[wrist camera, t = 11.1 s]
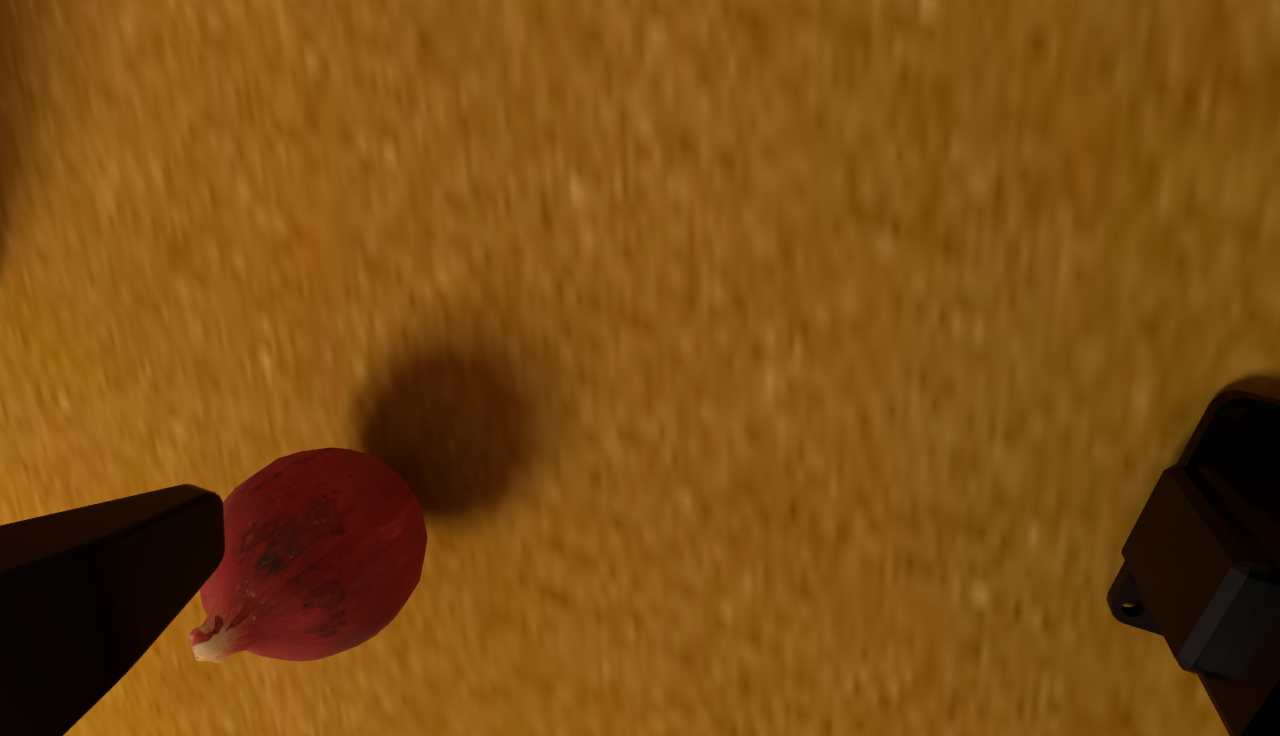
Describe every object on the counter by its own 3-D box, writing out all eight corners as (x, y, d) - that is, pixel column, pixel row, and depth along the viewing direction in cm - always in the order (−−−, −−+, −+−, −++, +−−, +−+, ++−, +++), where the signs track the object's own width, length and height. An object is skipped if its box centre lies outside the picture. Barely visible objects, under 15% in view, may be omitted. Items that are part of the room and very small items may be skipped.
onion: (359, 372, 24) (143, 499, 17) (502, 485, 24) (345, 658, 17) (294, 489, 27) (82, 641, 20) (423, 591, 27) (258, 781, 20)
